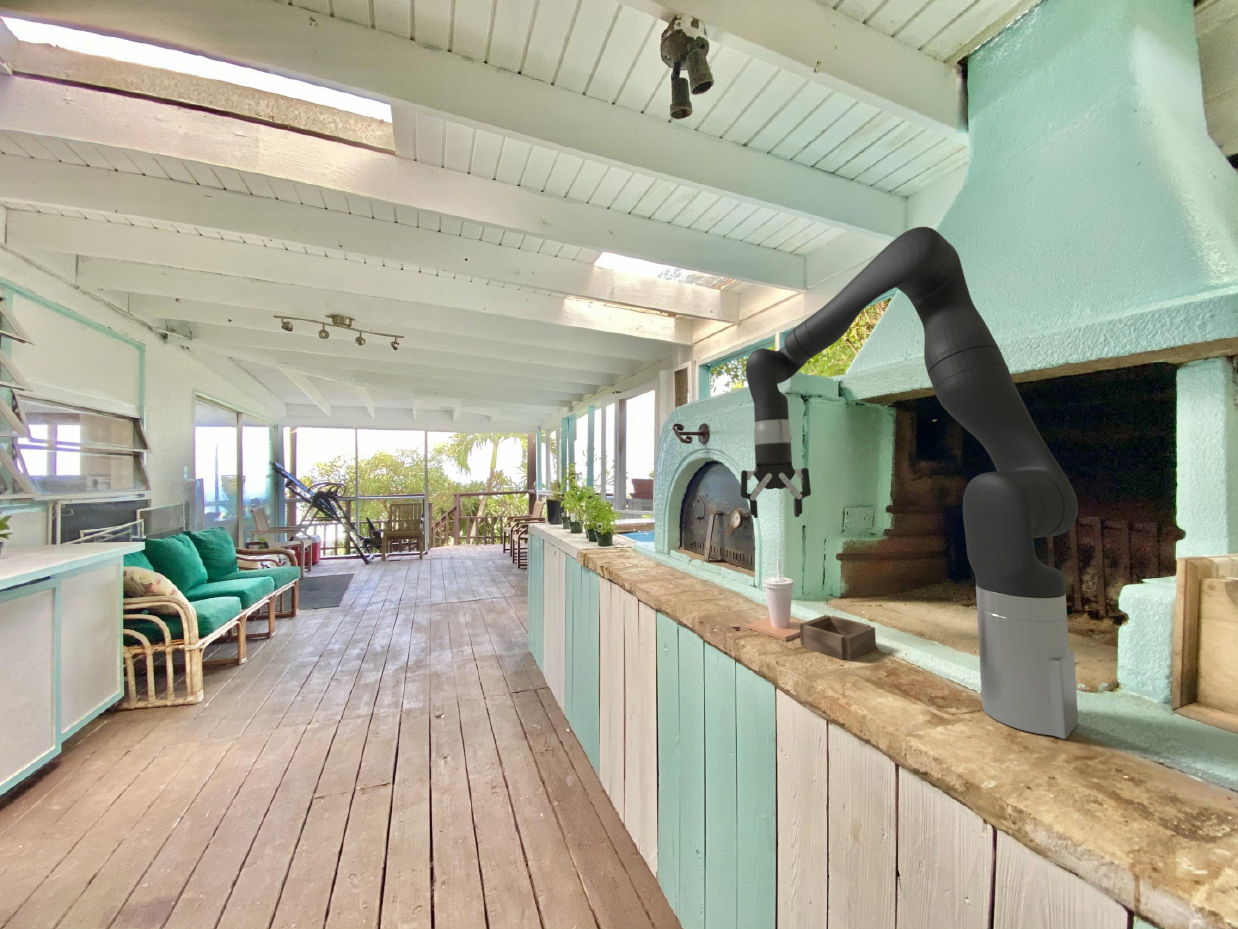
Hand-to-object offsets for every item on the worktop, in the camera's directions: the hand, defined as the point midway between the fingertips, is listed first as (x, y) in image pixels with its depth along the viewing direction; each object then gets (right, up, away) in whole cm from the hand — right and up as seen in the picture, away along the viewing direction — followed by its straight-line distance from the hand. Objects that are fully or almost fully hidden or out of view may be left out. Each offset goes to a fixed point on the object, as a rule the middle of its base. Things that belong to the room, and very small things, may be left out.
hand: (775, 517), depth 100 cm
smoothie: (+1, -23, 0) cm, 24 cm away
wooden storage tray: (+8, -24, -11) cm, 27 cm away
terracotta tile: (+1, -24, 0) cm, 24 cm away
